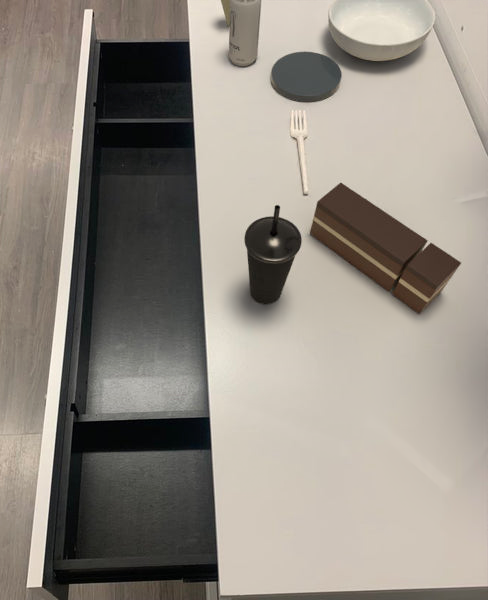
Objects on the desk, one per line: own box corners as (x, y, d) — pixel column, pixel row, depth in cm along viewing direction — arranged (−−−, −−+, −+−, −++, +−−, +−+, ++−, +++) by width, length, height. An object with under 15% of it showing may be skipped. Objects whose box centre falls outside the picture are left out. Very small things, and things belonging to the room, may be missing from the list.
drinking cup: (249, 265, 86) (257, 178, 68) (295, 278, 84) (315, 192, 67) (234, 303, 82) (238, 221, 65) (282, 318, 80) (299, 238, 63)
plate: (333, 55, 112) (334, 49, 110) (346, 99, 104) (347, 93, 103) (267, 60, 112) (267, 53, 111) (275, 104, 105) (276, 98, 103)
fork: (296, 195, 93) (297, 188, 91) (288, 117, 103) (289, 109, 101) (315, 195, 92) (316, 187, 91) (305, 117, 103) (307, 109, 101)
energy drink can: (225, 53, 114) (226, -18, 101) (251, 47, 114) (256, -25, 101) (233, 70, 111) (235, -1, 98) (261, 64, 111) (266, -8, 98)
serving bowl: (322, 14, 119) (327, -17, 113) (418, 16, 117) (429, -16, 111) (324, 73, 109) (330, 42, 103) (429, 76, 107) (442, 45, 101)
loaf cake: (331, 215, 90) (340, 182, 83) (410, 271, 84) (428, 240, 77) (309, 233, 88) (317, 201, 81) (388, 292, 82) (404, 262, 75)
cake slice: (413, 272, 83) (431, 242, 76) (441, 292, 81) (461, 262, 74) (391, 294, 82) (407, 264, 75) (419, 314, 80) (438, 286, 73)
